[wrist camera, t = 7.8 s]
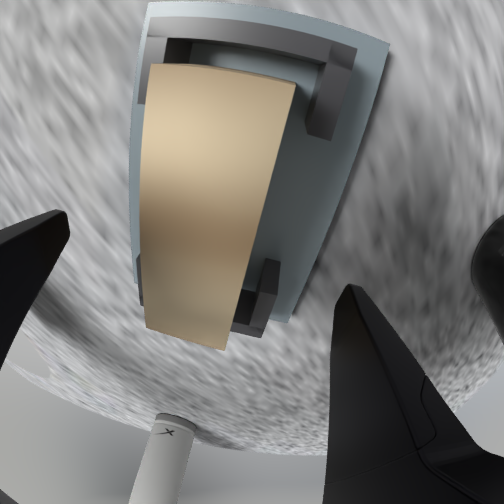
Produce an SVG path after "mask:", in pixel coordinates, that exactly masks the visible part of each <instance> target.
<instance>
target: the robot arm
mask: <svg viewBox="0 0 504 504" xmlns="http://www.w3.org/2000/svg"><path fill="white" fill-rule="evenodd" d="M69 237H70V229H69V223H68V217H67V214H66V212H64V211H61V210H57V209H55V210H52V211H49V212H46V213H43V214H41V215H38V216H35V217H32V218H30V219H27V220H24V221H22V222H19V223H16V224H14V225H11V226H9V227H6V228H4V229H1V230H0V369H1V367H2V365H3V363H4V360H5V358H6V356H7V353H8V351H9V349H10V347H11V345H12V342H13V340H14V338H15V336H16V334H17V332H18V330H19V328H20V326H21V324H22V322H23V320H24V318H25V316H26V315H27V313H28V311H29V309H30V307H31V305H32V304H33V302H34V300H35V298H36V297H37V295H38V293H39V291H40V290H41V288H42V286H43V285H44V283H45V281H46V280H47V278H48V276H49V275H50V273H51V271H52V269H53V267H54V265H55V263H56V262H57V260H58V258H59V256H60V254H61V252H62V251H63V249H64V247H65V245H66V243H67V242H68V240H69ZM0 504H18V503H17V502H15V501H14V500H13V499H12V498H10V497H9V496H8V495H7V494H5V493H4V492H3V491H2V490H1V489H0ZM322 504H504V457H501V456H498V455H495V454H492V453H489V452H487V451H485V450H483V449H482V448H481V447H479V446H478V445H477V444H476V443H475V442H474V440H473V439H472V437H471V436H470V435H469V433H468V432H467V431H466V429H465V428H464V427H463V425H462V424H461V423H460V421H459V420H458V419H457V417H456V416H455V415H454V413H453V412H452V411H451V409H450V408H449V406H448V405H447V404H446V402H445V401H444V400H443V398H442V397H441V395H440V394H439V393H438V391H437V390H436V388H435V387H434V385H433V384H432V382H431V381H430V379H429V378H428V376H425V372H424V371H423V369H422V368H421V366H420V365H419V363H418V362H417V361H416V359H415V358H414V356H413V355H412V353H411V352H410V351H409V349H408V348H407V346H406V345H405V344H404V342H403V341H402V340H401V338H400V337H399V335H398V334H397V333H396V331H395V330H394V329H393V327H392V326H391V325H390V323H389V322H388V321H387V319H386V318H385V317H384V315H383V314H382V313H381V311H380V310H379V309H378V307H377V306H376V305H375V304H374V302H373V301H372V300H371V298H370V297H369V296H368V295H367V293H366V292H365V291H364V290H363V288H362V287H360V286H357V285H353V284H348V285H347V286H346V287H345V288H344V290H343V292H342V294H341V296H340V297H339V299H338V301H337V303H336V305H335V309H334V320H333V331H332V341H331V352H330V408H329V433H328V450H327V465H326V476H325V485H324V495H323V503H322Z"/></svg>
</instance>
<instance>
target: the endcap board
mask: <svg viewBox="0 0 504 504" xmlns="http://www.w3.org/2000/svg"><path fill="white" fill-rule="evenodd" d="M389 46H390V44H389V43H386V42H384V41H382V40H379V39H377V38H374V37H372V36H369V35H367V34H364V33H361V32H359V31H356V30H353V29H350V28H347V27H344V26H341V25H338V24H335V23H331V22H328V21H324V20H321V19H317V18H313V17H309V16H305V15H301V14H297V13H292V12H287V11H283V10H277V9H272V8H266V7H259V6H252V5H244V4H235V3H223V2H206V1H165V2H149V3H148V7H147V12H146V16H145V21H144V26H143V31H142V36H141V42H140V48H139V54H138V60H137V67H136V75H135V83H134V92H133V102H132V114H131V128H130V149H129V213H130V235H131V250H132V262H133V273H134V283H137V284H138V288H139V297H140V305H141V306H144V303H143V291H142V277H141V259H140V228H139V195H140V164H141V147H142V133H143V122H144V112H145V103H146V95H147V87H148V80H149V73H150V67H151V64H158V63H168V64H199V65H211V66H218V67H225V68H231V69H237V70H243V71H248V72H254V73H258V74H263V75H268V76H272V77H277V78H281V79H285V80H289V81H293V82H295V84H296V87H295V91H294V94H293V98H292V102H291V106H290V109H289V113H288V117H287V120H286V124H285V128H284V132H283V135H282V139H281V143H280V146H279V150H278V154H277V158H276V161H275V165H274V169H273V172H272V176H271V180H270V184H269V187H268V191H267V195H266V198H265V202H264V206H263V210H262V213H261V217H260V221H259V224H258V228H257V232H256V236H255V239H254V243H253V247H252V250H251V254H250V258H249V262H248V265H247V269H246V273H245V277H244V280H243V284H242V288H241V291H240V295H239V299H238V303H237V306H236V310H235V314H234V318H233V321H232V325H231V329H230V331H232V332H236V333H240V334H245V335H249V336H253V337H257V338H261V337H262V334H263V332H264V329H265V327H266V324H267V322H268V319H271V320H275V321H280V322H284V323H288V321H289V318H290V316H291V314H292V312H293V310H294V308H295V305H296V303H297V301H298V299H299V297H300V294H301V292H302V290H303V288H304V285H305V283H306V281H307V279H308V276H309V274H310V272H311V269H312V267H313V265H314V262H315V260H316V258H317V255H318V253H319V251H320V248H321V246H322V243H323V241H324V238H325V236H326V234H327V231H328V229H329V226H330V224H331V221H332V219H333V216H334V213H335V211H336V208H337V206H338V203H339V201H340V198H341V195H342V193H343V190H344V187H345V185H346V182H347V179H348V176H349V174H350V171H351V168H352V165H353V163H354V160H355V157H356V154H357V151H358V148H359V145H360V142H361V139H362V137H363V134H364V131H365V127H366V124H367V121H368V118H369V115H370V112H371V109H372V106H373V102H374V99H375V96H376V92H377V89H378V86H379V82H380V79H381V75H382V72H383V68H384V65H385V61H386V57H387V54H388V50H389Z"/></svg>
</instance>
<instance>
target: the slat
mask: <svg viewBox="0 0 504 504" xmlns="http://www.w3.org/2000/svg"><path fill="white" fill-rule="evenodd" d="M295 87H296V84H295V82H293V81H289V80H285V79H281V78H277V77H272V76H268V75H263V74H258V73H254V72H248V71H243V70H237V69H231V68H225V67H218V66H211V65H199V64H168V63H158V64H151V67H150V73H149V80H148V87H147V95H146V103H145V112H144V122H143V133H142V147H141V164H140V195H139V228H140V259H141V277H142V291H143V303H144V313H145V322H146V328H149V329H152V330H155V331H158V332H161V333H164V334H167V335H170V336H173V337H177V338H180V339H183V340H187V341H190V342H193V343H197V344H201V345H204V346H208V347H211V348H215V349H219V350H223V351H225V347H226V344H227V340H228V336H229V332H230V329H231V325H232V321H233V318H234V314H235V310H236V306H237V303H238V299H239V295H240V291H241V288H242V284H243V280H244V277H245V273H246V269H247V265H248V262H249V258H250V254H251V250H252V247H253V243H254V239H255V236H256V232H257V228H258V224H259V221H260V217H261V213H262V210H263V206H264V202H265V198H266V195H267V191H268V187H269V184H270V180H271V176H272V172H273V169H274V165H275V161H276V158H277V154H278V150H279V146H280V143H281V139H282V135H283V132H284V128H285V124H286V120H287V117H288V113H289V109H290V106H291V102H292V98H293V94H294V91H295Z"/></svg>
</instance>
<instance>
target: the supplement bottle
mask: <svg viewBox="0 0 504 504" xmlns="http://www.w3.org/2000/svg"><path fill="white" fill-rule="evenodd" d="M472 280H473V284H474V286H475V289H476V291H477V292H478V294H479V296H480V298H481V300H482V302H483V304H484V306H485V307H486V309H487V311H488V313H489V315H490V317H491V319H492V321H493V323H494V325H495V327H496V329H497V332H498V334H499V336H500V338H501V340H502V343H503V345H504V216H502V217H501V218H500V219H498V220H497V221H496V222H495V223H494V224H493V225H492V226H491V227H490V228H489V230H488V231H487V232H486V234H485V235H484V236H483V238H482V240H481V242H480V243H479V246H478V248H477V250H476V253H475V256H474V259H473V264H472Z"/></svg>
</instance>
